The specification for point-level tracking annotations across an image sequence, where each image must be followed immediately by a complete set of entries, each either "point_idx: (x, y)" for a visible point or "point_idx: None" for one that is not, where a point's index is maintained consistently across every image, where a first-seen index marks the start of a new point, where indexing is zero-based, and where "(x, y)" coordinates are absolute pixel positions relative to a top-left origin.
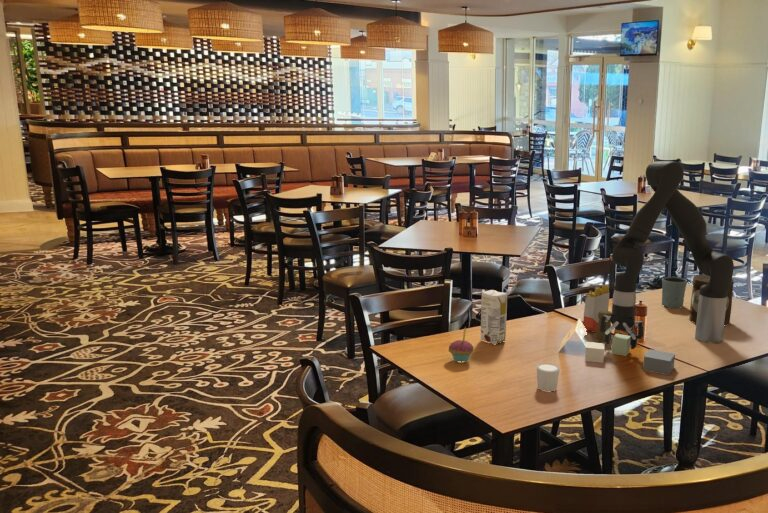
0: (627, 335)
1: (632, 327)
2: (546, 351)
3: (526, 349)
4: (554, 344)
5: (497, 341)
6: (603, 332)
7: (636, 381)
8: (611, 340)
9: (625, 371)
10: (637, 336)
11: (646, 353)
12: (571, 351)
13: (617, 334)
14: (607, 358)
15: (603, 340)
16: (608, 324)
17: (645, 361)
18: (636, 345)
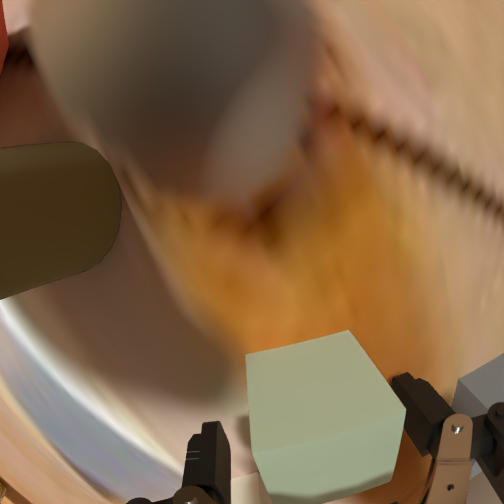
0: (375, 423)
1: (463, 497)
2: (81, 499)
3: (47, 497)
4: (29, 443)
5: (3, 493)
6: (44, 283)
7: (419, 497)
8: (118, 194)
9: (385, 491)
10: (470, 452)
11: (474, 462)
12: (119, 482)
13: (275, 462)
14: None
15: (88, 268)
16: (2, 266)
17: None
18: (429, 389)
